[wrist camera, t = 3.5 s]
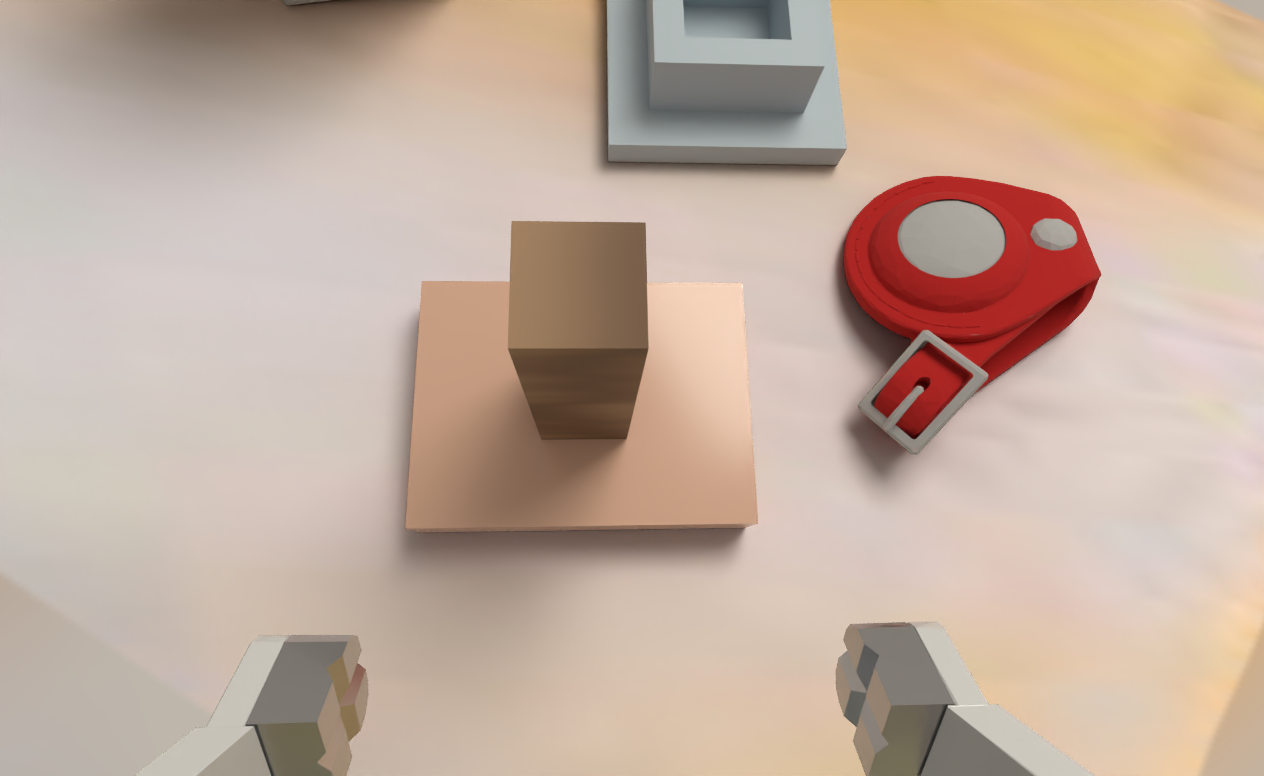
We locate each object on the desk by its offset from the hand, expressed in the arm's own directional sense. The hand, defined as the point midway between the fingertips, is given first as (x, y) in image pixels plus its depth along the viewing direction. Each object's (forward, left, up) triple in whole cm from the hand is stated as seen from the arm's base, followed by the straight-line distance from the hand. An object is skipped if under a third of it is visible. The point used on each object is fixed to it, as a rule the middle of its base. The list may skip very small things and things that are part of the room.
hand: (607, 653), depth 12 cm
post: (0, +7, -12) cm, 14 cm away
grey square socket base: (+6, +23, -14) cm, 28 cm away
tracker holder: (+14, +12, -14) cm, 23 cm away
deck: (0, +7, -14) cm, 16 cm away
